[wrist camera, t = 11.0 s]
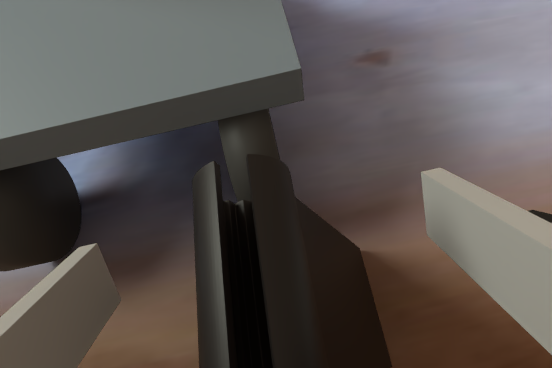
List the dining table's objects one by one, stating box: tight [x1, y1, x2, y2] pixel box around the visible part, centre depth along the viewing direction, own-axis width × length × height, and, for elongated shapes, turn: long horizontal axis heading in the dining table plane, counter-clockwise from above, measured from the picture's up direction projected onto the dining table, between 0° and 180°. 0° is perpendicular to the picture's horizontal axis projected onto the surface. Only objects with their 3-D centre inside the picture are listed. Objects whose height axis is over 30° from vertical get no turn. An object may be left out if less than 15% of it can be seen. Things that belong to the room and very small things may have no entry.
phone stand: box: [192, 154, 392, 368], centre depth 13 cm, size 9×6×12 cm, turn 98°
